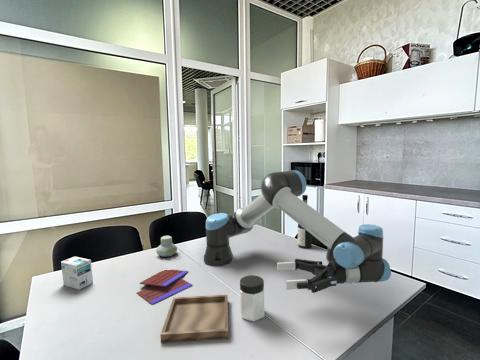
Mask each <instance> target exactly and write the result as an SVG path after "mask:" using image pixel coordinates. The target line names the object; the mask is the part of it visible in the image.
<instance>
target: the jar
mask: <svg viewBox="0 0 480 360" xmlns="http://www.w3.org/2000/svg"><path fill="white" fill-rule="evenodd" d="M264 281H265V280H264V278H262V277H261V276H258V275H254V274H253V275H251V274H250V275H245V276H242V278H240V279H239V297H240V299H239V300H240V304H239V305H240V318H242V319H243V320H247V321H249V322H250V321H251V322H253V323H254V322H256V321H259V320H260V319H263V318H265V314H266V313H265V289H264V288H265V282H264Z"/></svg>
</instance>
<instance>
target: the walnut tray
mask: <svg viewBox="0 0 480 360" xmlns="http://www.w3.org/2000/svg"><path fill="white" fill-rule="evenodd" d="M172 297H173V296H172ZM228 297H229V296H228V294H215V295H212V294H211V295H197V296H194V295H193V296H192V295H191V296H177V297H176V296H175V297H173V298H172V301H171V304H170V306H169V309H168V311H167V315H166V318H165V320H164V324H163V326H162V329H161V332H160V337H159V338H160V343H175V342H188V341H189V342H192V341H205V340H207V341H209V340H224V339H229V311H228V310H229V303H228V302H229V299H228Z"/></svg>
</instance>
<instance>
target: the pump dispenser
mask: <svg viewBox="0 0 480 360" xmlns="http://www.w3.org/2000/svg"><path fill="white" fill-rule="evenodd" d="M333 253H334V252H333V251H332V250H331V249H329V248H328V247H327V249H326V257H325V258H326V261H327V265H328V264H329V262H330V261H336V260H335V258H334V254H333Z"/></svg>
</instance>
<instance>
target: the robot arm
mask: <svg viewBox="0 0 480 360" xmlns="http://www.w3.org/2000/svg"><path fill="white" fill-rule="evenodd" d="M306 190H307V181H306V178H305V176H304V175H303V173H302V172H301V171H298V170H295V169H293V170H292V169H290V170H287V171H286V170H285V171H277V172H270V173H268V174H267V175H266V176H265V177H264V178H263V179H262V180H261V185H260V191H261V194H260V195H259V196H257V197H256V198H255V199H253V201H251V202H250V203H249V204H248V205H246V206H245V207H240V208H238V209H237V210H236V211H235V212H233V213H229V214H227V213H225V212H219V213H214V214H211V215H209V216H208V217H207V218H206V220H205V235H206V236H205V238H206V246H205V251H204V254H203V262H205V263H204V264H205V265H207V266H208V265H209V266H212V267H213V266H214V267H221V266H226V265H229V264H230V263H232V262H233V261H234V254H233V251H232V249H231V248H232V247H231V245H230V238H233V237H236V236H240V235H243V234H247V233H249V232H251V231H252V230H253V229H254V225H255V222H256V221H258V220H259V219H260V218H261V217H263V216H264V215H265V214H267V213H269V212H270V211H271V210H272V209H279V210H281V211H282V212H283V213H285V215H287V216H288V217H290V219H291V220H292V221H294V222H296V223H297V225H298V224H299V225H301V226H302V227H303V228H304V229H306V230H307V231H308V232H309V233H311V234H312V237H315V239H317V240H318V241H319V242H321V243H322V244H323V245H324V246H326V248H327V249H328V248H329V249H331V250H332V251H333V252H334V253H333V254H334V258H335V260H336V261H330V262H329V264H328V263H327V265H323V261H322V260H320V261H319V260H317V261H315V260H308V259H307V260H306V259H301V258H294V261H283V262H277V263H276V265H277V266H276V267H277V271H279V272H280V271H281V272H283V271H297V270H301V271H304V272H308V273H311V274H312V275H315V276H313V277H311V278H310V279H309V278H307V279H306V278H304V279H302V278H301V279H289V280H285V290H286V291H288V290H289V291H290V290H309V291H311V293H312V294H315V293H318V292H320V291H323V290H326V289H328V288H330V287H336V286H337V285H341V284H350V285H352V284H355V283H356V284H357V283H379V282H386V281H389V279H390V278H391V276H392V271H391V266H390V264H389V262H388V261H387V260H386V259H385V258H383V254H384V253H383V249H384V231H383V230H384V229H383V228H382V227H381V226H380V225H376V224H370V223H368V224H367V223H364V224H361V225H359V227H358V231H357V234H358V235H356V236H352V235H350V234H349V233H348V232H346V231H345V230H343V228H340V227H339V226H338V225H336V224H335V223H334V222H332V220H330V219H328V218H327V217H325V216H324V215H323V214H321V213H320V212H318V211H317V210H316V209H315V208H313V207H312V206H310V205H309V204H308V203H307V204H306V203H305V202H304V201H303V199H301V198H300V197H301V196H302V195H304V194H305V192H306Z"/></svg>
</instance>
